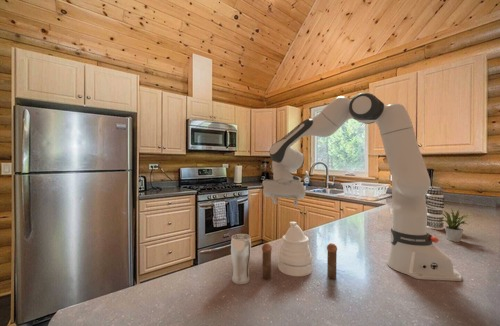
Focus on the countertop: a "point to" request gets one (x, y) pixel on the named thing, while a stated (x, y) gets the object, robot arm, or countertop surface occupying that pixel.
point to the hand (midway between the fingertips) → (285, 204)
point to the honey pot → (295, 253)
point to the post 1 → (266, 262)
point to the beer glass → (241, 258)
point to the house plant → (454, 226)
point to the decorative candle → (435, 208)
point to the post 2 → (331, 261)
